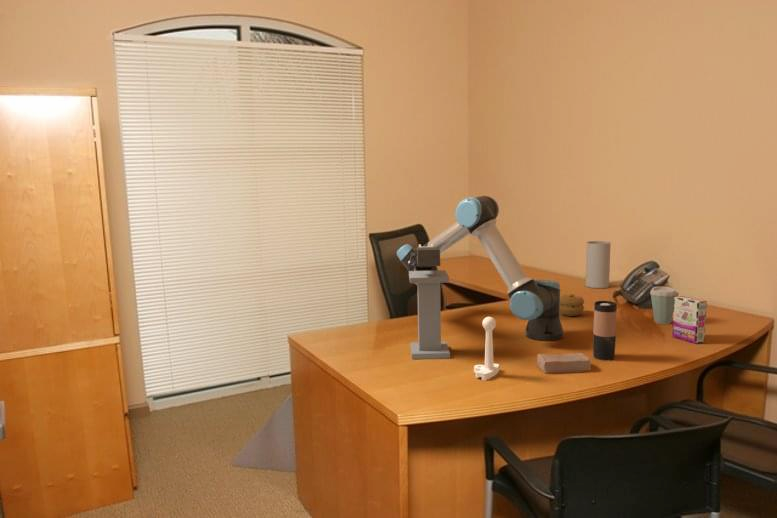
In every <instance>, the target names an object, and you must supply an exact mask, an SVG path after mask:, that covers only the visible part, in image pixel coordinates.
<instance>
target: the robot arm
mask: <svg viewBox="0 0 777 518" xmlns="http://www.w3.org/2000/svg"><path fill="white" fill-rule="evenodd" d="M499 212H500V211H499V205H498V202H497V201H496V200H495V199H494V198H493V197H491V196H488V195H481V196H470V197H469V196H468V197H467V198H464V199H462V200H460V202H459V203H458V205H456V209H455V213H454V214H455V219H456V222H454V223H453V224H451V225H450V226H449V227H447V228H446V229H445V230H443V231H442V232H441V233H439V234H438V235H436V236H435V237H433V238H432V239H431V240H429V241H428V242H427V243H425V244H424V245H423V246H422V244H420V243H419V244H418V247H427V246H430V247H439V249H440V255H441V254H443V253H444V252H446V250H448V249H450V248H452V247H453V246H454V245H456V244H457V243H458V242H460V241H462V240H463V239H464V238H466V237H467V236H469V235H471V237H476V238H477V239H478V241H479V242H480V244H481V246H482V247H483V249H484V251H485V253H486V255H487V256H488V258H489V259H490V260H491V262H492V264H493V266H494V267H495V269H496V271H497V272H498V274H499V275H500V278H502V280H503V283H504V284H505V285H506V287H507V296H508V297H509V308H510V310H511V312H512V314H513V315H514V316H515V317H516V318H518V319H520V320H523V321H527V324H526V326H525V329H524V330H525V331H524V332H525V333H524V336H526V337H527V338H529V339H532V340H534V341H535V340H536V341H543V342H544V341H545V342H546V341H547V342H549V341H557V340H561V339H563V338H564V333H565V332H564V329H563V325H562V322H561V319H560V297H561V286H560V285H561V284H560V282H559V281H556V280H549V279H534V278H532V277H529V276H528V275H527V274H526V272H525V270H524V269H523V267H522V265H521V264H520V262H519V261H518V259H517V258H516V256H515V254H514V253H513V252H512V250H511V248H510V246H509V245H508V243H507V242H506V240H505V238H504V237H503V235H502V234H501V232H500V230H499V229H498V227H497V217H498V216H499ZM396 256H397V257H398V259H399V261H400V262H401V263H402V265H403V266H404V268H406V270H407V271H408V272H409V271H433V267H434V266H418V265H417V247H415V248H413V247H412V245H410V244H408V243H406V244H404V245H403V246H400V248H398V249H397V251H396ZM414 284H415V285H416V286H417V283H414Z"/></svg>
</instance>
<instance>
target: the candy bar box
mask: <svg viewBox="0 0 777 518" xmlns="http://www.w3.org/2000/svg"><path fill="white" fill-rule="evenodd" d="M707 303H708V301H707V300H704V299H700V298H699V299H698V298H694V297H690V296H689V297H688V296H683V295H681V296H676V297H674V309H673V315H672V318H673V319H672V333H671V334H672V338H675V339H679V340H682V341H685V342H689V343H692V344H695V345H696V344H701V343H702V344H703V343H705V339H706V338H705V337H706V336H705V335H706V319H707V305H708V304H707Z"/></svg>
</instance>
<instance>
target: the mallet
mask: <svg viewBox="0 0 777 518" xmlns="http://www.w3.org/2000/svg"><path fill="white" fill-rule="evenodd" d="M416 248H417V265H418V266H433V267H440V266H441V254H440V249H439V247H430V246H427V247H422V246H421V247H419V246H417V247H416Z"/></svg>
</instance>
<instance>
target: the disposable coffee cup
mask: <svg viewBox="0 0 777 518" xmlns="http://www.w3.org/2000/svg"><path fill="white" fill-rule="evenodd" d="M677 293H678V292H677V291H676V289H675V288H673V287H670V286H662V285H660V286H653V287H652V288H651V289H650V292H649V294H650V299H651V305H652V312H653V321H654V322H655V323H656V324H660V325H668V324H671V322H672V321H673V319H672V318H673V314H674V297H677Z"/></svg>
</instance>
